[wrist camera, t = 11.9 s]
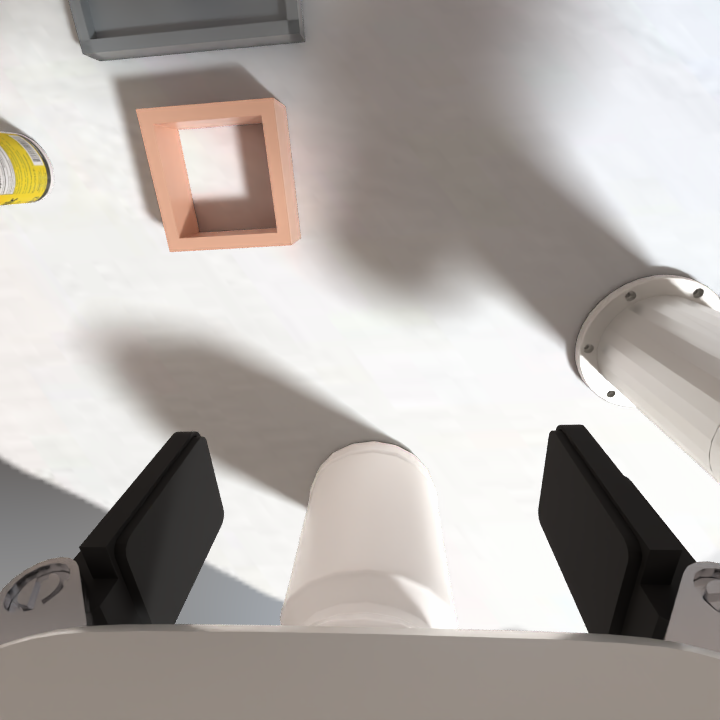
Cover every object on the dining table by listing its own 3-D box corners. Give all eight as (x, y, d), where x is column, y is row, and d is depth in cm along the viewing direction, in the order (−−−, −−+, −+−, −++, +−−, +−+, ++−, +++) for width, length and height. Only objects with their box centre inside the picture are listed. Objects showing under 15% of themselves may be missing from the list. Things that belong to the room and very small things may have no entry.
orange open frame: (285, 106, 33) (273, 97, 29) (301, 238, 37) (291, 245, 33) (163, 116, 33) (135, 109, 30) (191, 244, 37) (169, 252, 34)
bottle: (305, 524, 50) (222, 887, 24) (320, 428, 44) (232, 769, 19) (420, 543, 50) (457, 924, 25) (449, 450, 45) (535, 818, 19)
